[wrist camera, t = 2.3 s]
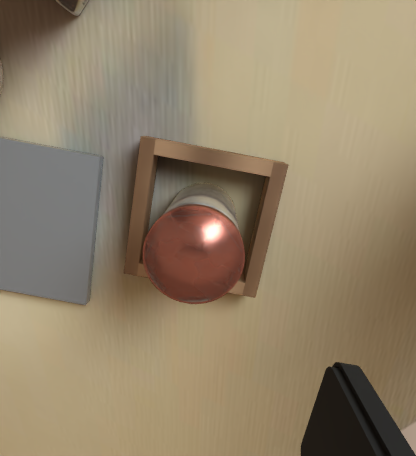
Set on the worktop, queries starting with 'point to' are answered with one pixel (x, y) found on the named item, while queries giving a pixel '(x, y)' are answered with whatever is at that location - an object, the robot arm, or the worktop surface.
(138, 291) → the worktop surface
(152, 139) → the pocket frame
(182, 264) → the spice tin
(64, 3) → the coffee box
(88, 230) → the plate
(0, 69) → the cream round puck
